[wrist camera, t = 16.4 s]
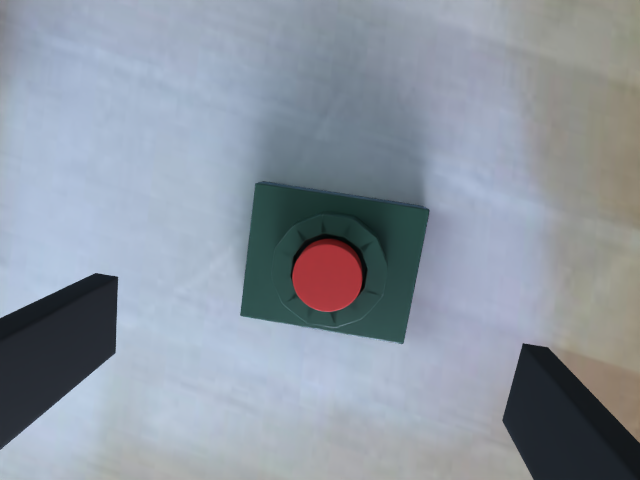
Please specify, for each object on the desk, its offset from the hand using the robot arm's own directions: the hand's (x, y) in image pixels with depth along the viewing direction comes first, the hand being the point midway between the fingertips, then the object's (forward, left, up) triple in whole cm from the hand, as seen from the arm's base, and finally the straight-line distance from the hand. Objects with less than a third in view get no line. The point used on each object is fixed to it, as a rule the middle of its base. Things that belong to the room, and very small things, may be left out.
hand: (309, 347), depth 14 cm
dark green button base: (0, +1, -16) cm, 16 cm away
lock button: (0, +1, -12) cm, 12 cm away
